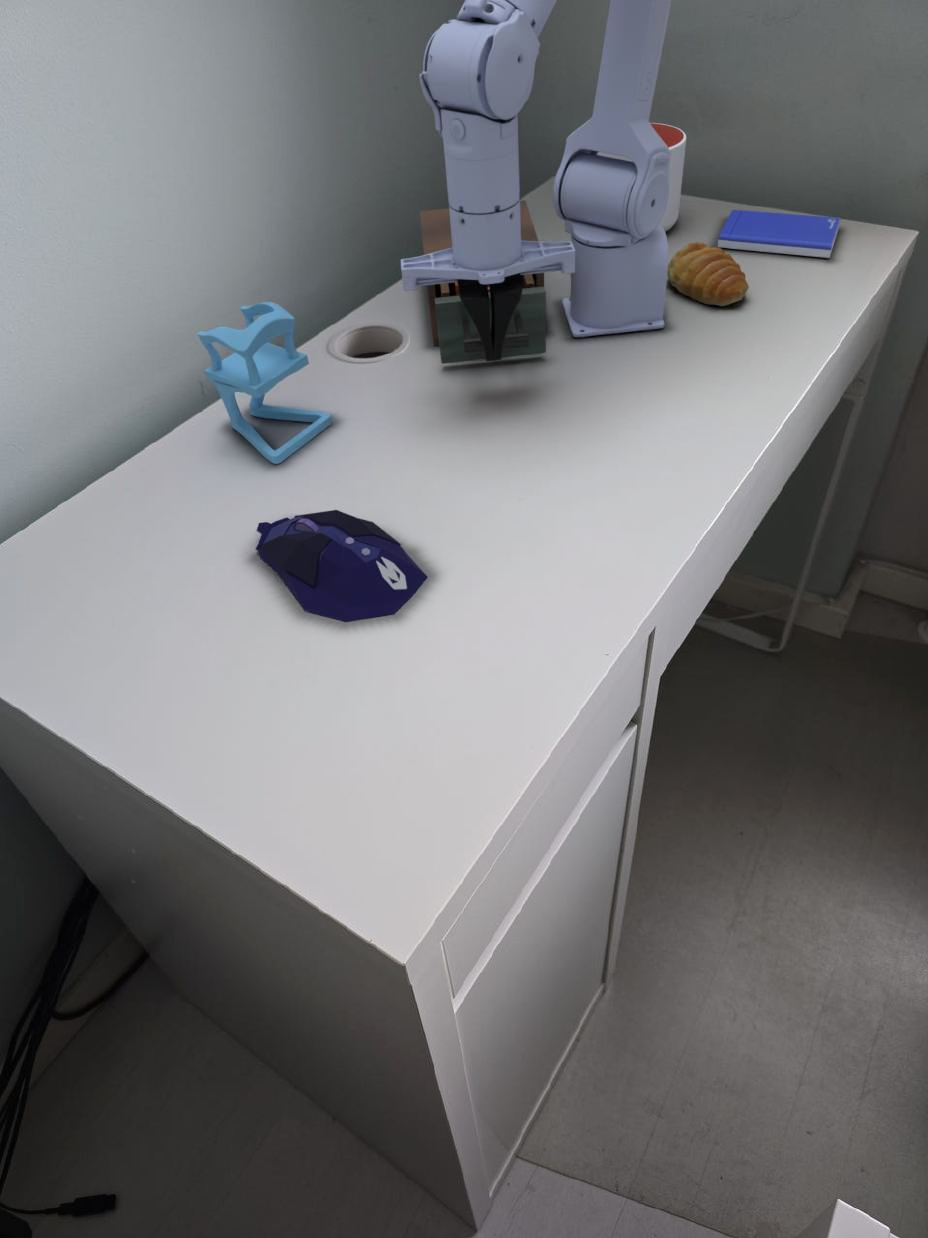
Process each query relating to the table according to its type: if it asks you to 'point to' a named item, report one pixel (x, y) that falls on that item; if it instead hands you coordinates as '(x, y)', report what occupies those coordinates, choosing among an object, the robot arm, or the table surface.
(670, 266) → the pastry
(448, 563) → the table surface
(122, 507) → the table surface
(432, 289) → the cabinet
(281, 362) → the chair
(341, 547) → the computer mouse
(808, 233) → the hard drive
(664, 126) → the cup
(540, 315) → the drawer
